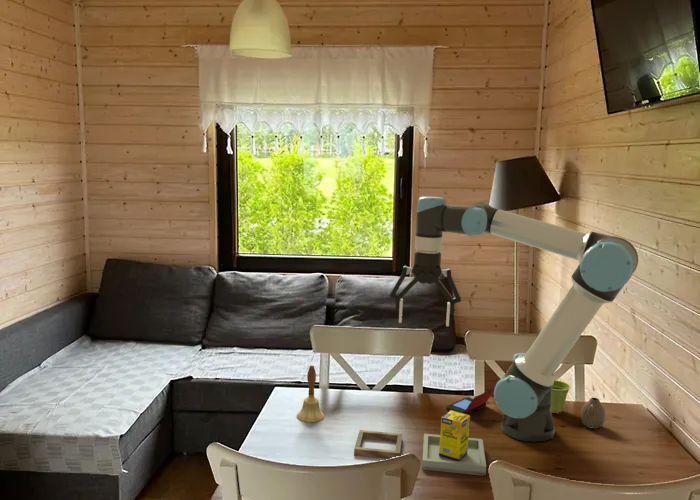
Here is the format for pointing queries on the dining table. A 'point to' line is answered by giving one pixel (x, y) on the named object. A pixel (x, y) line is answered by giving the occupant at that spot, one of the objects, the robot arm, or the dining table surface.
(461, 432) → the supplement box
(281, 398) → the dining table surface
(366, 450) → the walnut collar
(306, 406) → the hand bell
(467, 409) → the handheld game console
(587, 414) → the vase
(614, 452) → the dining table surface
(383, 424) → the dining table surface
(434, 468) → the grey tray
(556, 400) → the plant pot
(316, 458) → the dining table surface
